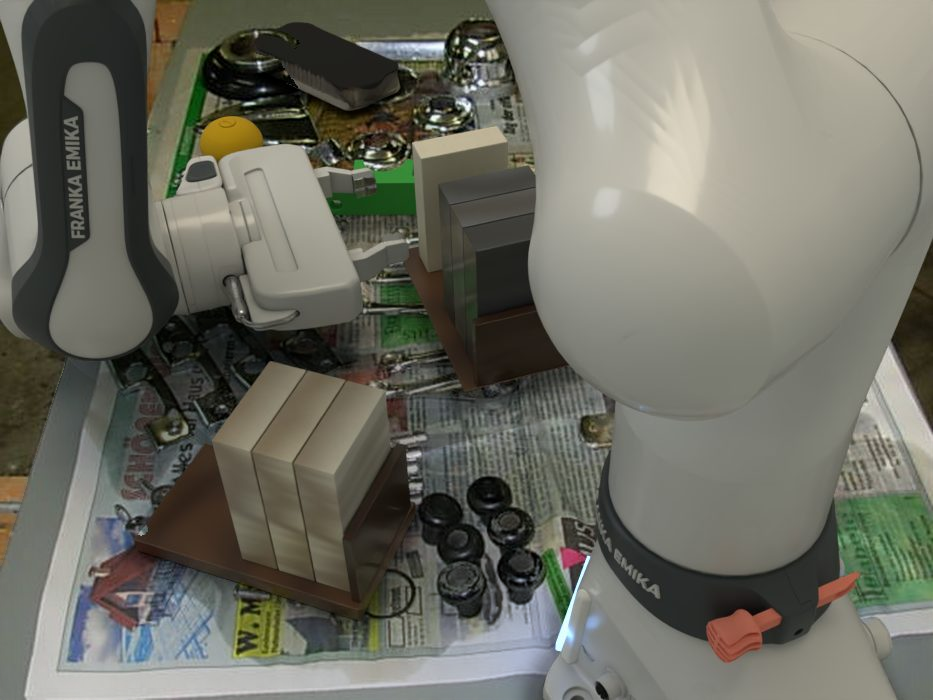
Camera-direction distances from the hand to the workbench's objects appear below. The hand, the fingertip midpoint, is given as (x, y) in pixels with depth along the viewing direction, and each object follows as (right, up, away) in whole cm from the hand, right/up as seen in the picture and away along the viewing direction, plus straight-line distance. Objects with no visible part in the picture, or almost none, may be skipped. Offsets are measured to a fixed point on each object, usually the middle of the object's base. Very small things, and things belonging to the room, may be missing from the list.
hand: (389, 211), depth 87 cm
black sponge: (-9, +17, +30) cm, 36 cm away
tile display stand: (-6, -23, -14) cm, 28 cm away
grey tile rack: (+8, -8, +2) cm, 11 cm away
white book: (+6, -3, +5) cm, 8 cm away
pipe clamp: (-1, +1, +12) cm, 12 cm away
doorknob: (-15, +3, +15) cm, 21 cm away
